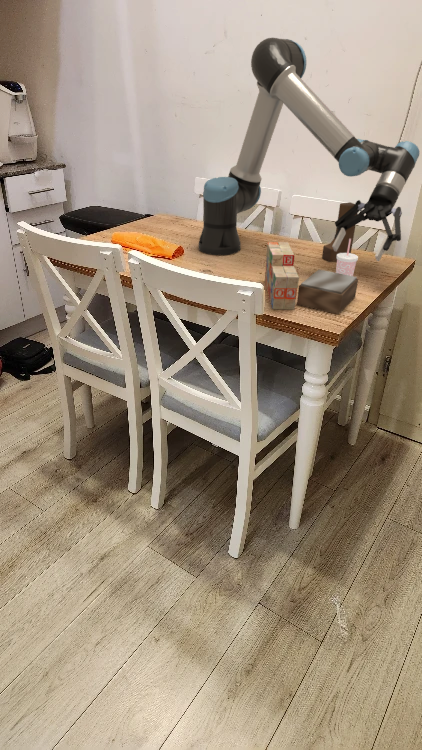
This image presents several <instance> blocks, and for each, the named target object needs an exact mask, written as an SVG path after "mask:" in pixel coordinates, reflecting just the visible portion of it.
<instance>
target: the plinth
mask: <svg viewBox="0 0 422 750" xmlns="http://www.w3.org/2000/svg"><path fill="white" fill-rule="evenodd" d="M358 282H359V278H358V276H354V275H353V276H349V275H344V274H339V273H336V272H333V271H329V270H325V269H318V270H316V271H315V272H313V274H311V275H310V276H309V277H307V278H306V279H305V280H304V281H302V282H301V283H300V285H299V284H298V289H297V297H296V300H297V301H296V305H297V304H298V306H303V307H307V308H310V309H314V308H315V309H316V310H319V311H324V312H327V313H332V314H336V315H340V314H341V313H342V312H343V311H344V310H345V309H346V308H347V307H348V305H350V303H352V301H353V300H354V299H355V298H356V296H357V295H356V293H357V289H358Z"/></svg>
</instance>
